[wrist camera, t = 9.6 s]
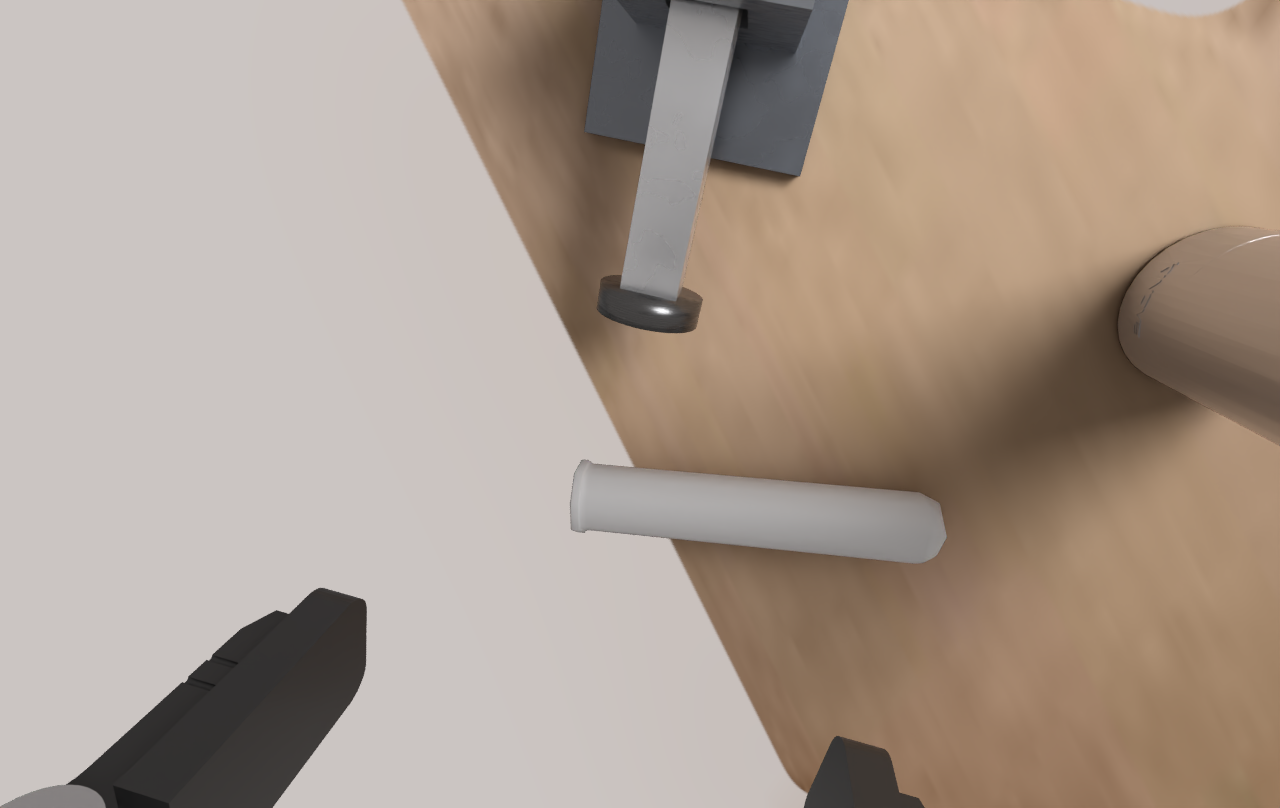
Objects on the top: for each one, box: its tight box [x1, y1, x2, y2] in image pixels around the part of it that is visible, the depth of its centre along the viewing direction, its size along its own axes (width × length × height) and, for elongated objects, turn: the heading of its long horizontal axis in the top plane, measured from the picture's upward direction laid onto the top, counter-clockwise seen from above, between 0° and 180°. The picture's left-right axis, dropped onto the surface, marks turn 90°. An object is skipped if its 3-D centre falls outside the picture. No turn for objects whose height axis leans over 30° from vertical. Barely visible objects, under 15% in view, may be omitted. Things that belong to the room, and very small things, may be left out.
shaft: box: [597, 0, 743, 333], centre depth 30 cm, size 6×18×6 cm, turn 169°
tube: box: [570, 460, 947, 564], centre depth 42 cm, size 5×5×25 cm
